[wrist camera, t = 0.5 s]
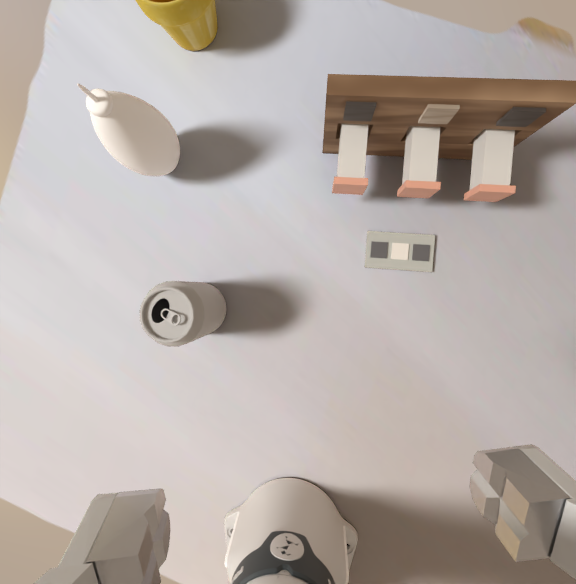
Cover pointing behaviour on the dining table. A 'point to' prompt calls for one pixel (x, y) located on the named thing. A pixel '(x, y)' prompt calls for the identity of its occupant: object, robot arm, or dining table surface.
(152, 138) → the cream tall ovoid
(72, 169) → the dining table surface
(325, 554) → the robot arm
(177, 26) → the plant pot
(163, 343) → the can
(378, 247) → the card
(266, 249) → the dining table surface
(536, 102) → the console
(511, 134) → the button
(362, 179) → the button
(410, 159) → the button middle
